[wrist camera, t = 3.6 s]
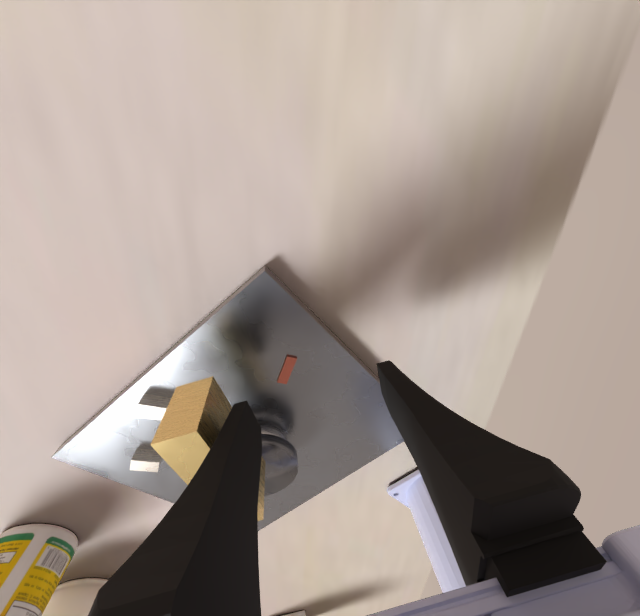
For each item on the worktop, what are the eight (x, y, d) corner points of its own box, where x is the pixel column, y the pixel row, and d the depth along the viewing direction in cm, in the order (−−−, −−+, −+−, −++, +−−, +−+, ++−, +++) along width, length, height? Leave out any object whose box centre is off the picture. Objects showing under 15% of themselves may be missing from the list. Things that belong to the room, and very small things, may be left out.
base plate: (420, 419, 21) (433, 443, 19) (255, 522, 25) (253, 551, 23) (265, 265, 14) (263, 280, 12) (60, 445, 17) (34, 479, 15)
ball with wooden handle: (306, 471, 19) (313, 538, 15) (233, 493, 18) (224, 564, 15) (249, 355, 13) (240, 418, 10) (148, 385, 13) (106, 458, 10)
